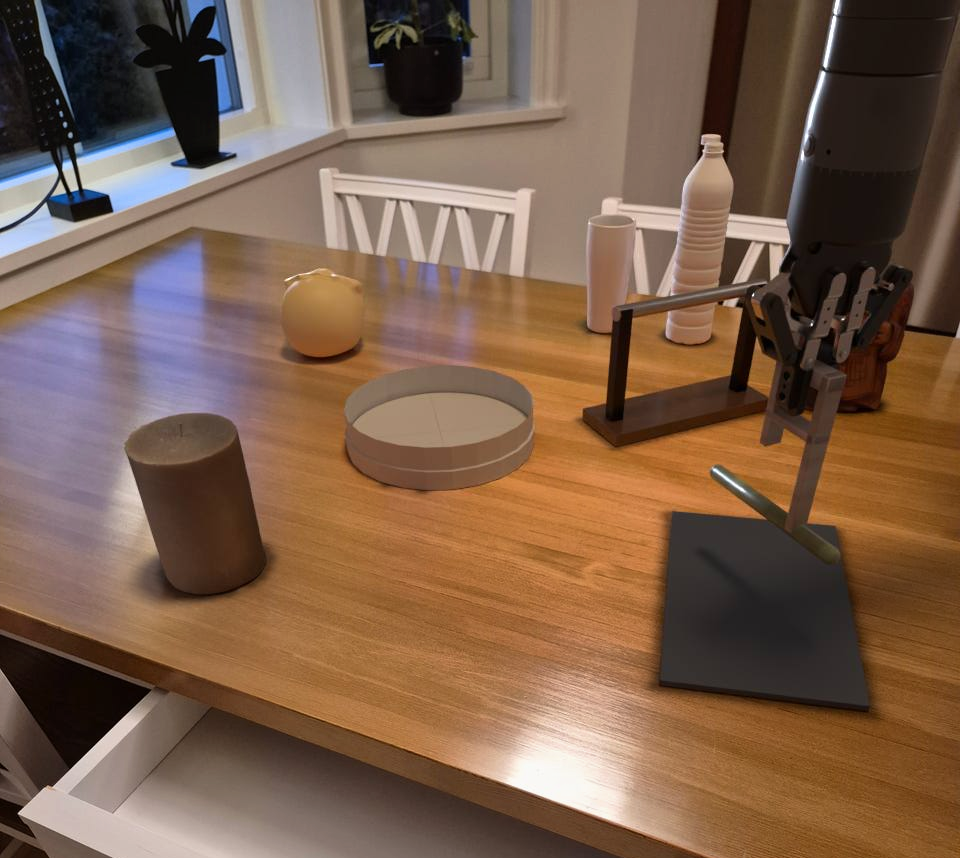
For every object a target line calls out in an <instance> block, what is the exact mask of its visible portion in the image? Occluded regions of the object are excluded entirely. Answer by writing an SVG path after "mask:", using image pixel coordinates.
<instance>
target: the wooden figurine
mask: <svg viewBox="0 0 960 858" xmlns="http://www.w3.org/2000/svg"><path fill="white" fill-rule="evenodd" d="M890 260H891V261H893V262H894V263H895V264H897V263H896V262H895V260H893V258H891V259H890ZM914 297H915V287H914V285H913V284H912V281H911V282H910V283H909V285H908V286H907V288H906V289H905V291H904V292H903V294H902V295H901V297H900V298H899V300H898V301H897V303H896V304H895V306H894V307H893V309H892V310H891V312H890V313H889V315H888V316H887V318H886V319H885V321H884V322H883V324H882V325H881V327H880V328H879V330H878V331H877V333H876V334H875V336H874V337H873V339H872V340H871V342H870V343H869V345H868V346H867V347H866V348H865V349H863V350H859V349H857V348H855V349H854V350H852V351H851V352H849V355H848V357H847V359H846V360H845V361H843V362H841V364H840V368H839V371H840V372H842V373H844V374H846V379H845V383H844V387H843V390H842V394H841V397H840V401H839V405H838V409H837V412H856V411H858V410H859V409H860V408H862V409H869V410H877V409H878V407H879V406H880V403H881V399H882V396H883V392H884V389H885V383H886V380H887V374H888V363H890V362H892V361H894V360H895V359H897V358H896V357H897V355H898V354H899V353H900V350H901V348H902V344H903V342H904V338H905V330H906V328H907V325H908V322H909V319H910V314H911V310H912V307H913V302H914ZM869 315H870V314H869V313H865V314H864V315H863V319H862V323H861V327H862V326H863V324H864V323H865V321H866V320H867V318H868V317H869ZM806 318H807V317H806ZM811 320H812V319H811ZM813 321H814V320H813ZM861 327H860V328H859V330H860V329H861ZM834 332H835V329H834V330H833V333H834ZM802 343H803V336H802V335H801V338H800V342H799V346H798V347H800V348H801V347H802ZM805 409H806V410H810V411H813V409H811V408H809V407H808V406H806V405H805Z"/></svg>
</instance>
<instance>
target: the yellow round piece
mask: <svg viewBox="0 0 960 858" xmlns="http://www.w3.org/2000/svg"><path fill="white" fill-rule="evenodd" d="M283 284H284V287H285V292H284V295H283V297H282V300H281V304H280V310H279V311H280V312H279V317H280V319H279V320H280V325H281V329H282V332H283V335H284V336H285V339H286V340H287V342H288V344H289V345H290V346H291V348H292V349H293V350H295V351H296V352H297V353H300V354H302V355H305V356H308V357H315V358H326V357H332V356H336V355H337V356H338V355H340V354H342V353H346V352H348V351H350V350H351V349H353V348H354V347H356V345H358V343H359V340H360V338H361V335H362V332H363V327H364V322H365V297H364V285H363V284H362V282H361V281H359V280H357V279H354V278H351V277H348V276H345V275H340V274H337V273H335V271H334V270H331V269H329V268H325V267H319V268H317V269H315V270H313V271H312V270H311V271H308V272H307V273H299V274H295V275H293V276H292V277H288V278H287V279H285V280H284V282H283Z"/></svg>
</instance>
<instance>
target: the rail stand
mask: <svg viewBox="0 0 960 858" xmlns="http://www.w3.org/2000/svg"><path fill="white" fill-rule="evenodd" d="M767 283H768V280H766V279H765V278H758V279H752V280H747V281H742V282H736V283H732V284H731V283H730V284H726V285H721V286H718V287H714V288H709V289H704V290H698V291H693V292H688V293H682V294H677V295H672V296H670V295H667V296H661V297H656V298H651V299H645V300H640V301H634V302H629V303H625V304H624V305H618V306H614V307H613V308H612V318H613V322H612V333H611V336H610V347H609V348H610V350H609V362H608V374H607V385H606V399H605V403H602V404H597V405H592V406H588V407H587V406H586V407H584V408H582V416H581V417H582V421H583V422H584V423H585V424H587V425H588V426H590V427H591V428H592V429H593V430H594V431H596V432H597V433H598V434H599V435H601V436H602V437H603V438H604V439H606V440H607V442H609V443H611V444H612V446H614V447H615V448H616V447H617V448H618V447H621V446H625V445H630V444H634V443H638V442H642V441H646V440H650V439H654V438H659V437H664V436H667V435H671V434H674V433H679V432H684V431H688V430H692V429H695V428H700V427H704V426H707V425H712V424H715V423H720V422H724V421H728V420H732V419H737V418H740V417H745V416H748V415H752V414H757V413H760V412H764V411H765V412H766V409H767V404H768V400H769V396H768V395H766V394H764V393H762V392H761V391H758V390H757V389H755V388H754V387H752V386H750V385H749V380H750V374H751V369H752V363H753V358H754V352H755V347H756V343H757V336H756V333H755V330H754V327H753V324H752V321H751V318H750V315H749V312H748V309H747V306H746V303H745V300H743V305H742V310H741V314H740V315H741V316H740V321H739V327H738V333H737V338H736V344H735V350H734V355H733V361H732V367H731V372H730V374H729V375H726V376H721V377H715V378H711V379H707V380H703V381H698V382H694V383H689V384H686V385H685V384H684V385H681V386H676V387H671V388H667V389H662V390H658V391H654V392H649V393H645V394H642V395H641V394H640V395H635V396H632V397H628V398H627V397H626V392H627V391H626V390H627V381H628V371H629V370H628V369H629V361H630V360H629V359H630V349H631V339H632V327H633V319H637V318H642V317H647V316H652V315H657V314H663V313H668V311H673V310H679V309H684V308H689V307H694V306H699V305H704V304H710V303H715V302H716V303H719V302H726V301H729V300H734V299H739V298H744V295H745V292H746V290H747V289H748V288H749V287H750V286H752V285H756V286H758V287H761V288H762V287H764V286H765V285H766V284H767ZM716 303H715V304H716Z"/></svg>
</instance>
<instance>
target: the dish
mask: <svg viewBox="0 0 960 858" xmlns="http://www.w3.org/2000/svg"><path fill="white" fill-rule="evenodd" d="M343 415H344V421H345V432H344V436H345V441H346V449H347V454H348V456H349V458H350V461H351V463H352V464H353V465H354V466H355V467H356V468H357V469H358V470H359V471H360V472H361V473H362V474H364V475H366V476H368V477H370V478H372V479H373V480H375V481H378V482H380V483H384V484H387V485H391V486H394V487H397V488H403V489H412V490H422V491H446V490H447V491H449V490H458V489H463V488H464V489H465V488H471V487H475V486H476V487H477V486H480V485H483V484H486V483H489V482H493V481H496V480H499V479H502V478H504V477H505V476H507V475H509V474H511V473H513V472H514V471H516V470H518V469H519V468H521V466H523V464H524V463H525V462H526V461H527V460H528V459H529V458H530V457H531V454H532V452H533V449H534V446H535V429H536V426H535V420H534V400H533V394H532V393H531V392H530V390H528V389H527V387H526V386H525V385H524V384H522V383H521V382H520V381H518V380H516V379H515V378H513V377H511V376H510V375H509V376H508V375H505V374H503V373H500V372H497V371H494V370H491V369H487V368H481V367H476V366H467V365H454V364H453V365H451V364H449V365H447V364H445V365H444V364H443V365H426V366H417V367H411V368H406V369H400V370H397V371H393V372H388V373H386V374H383V375H380V376H378V377H375V378H373V379H370V380H368V381H367V382H365V383H364V384H361V386H359V387H357V388H356V389H354V390H353V391H352V393H351V394H350V395H349V396H348V397H347V399H346V400H345V405H344V409H343Z"/></svg>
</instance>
